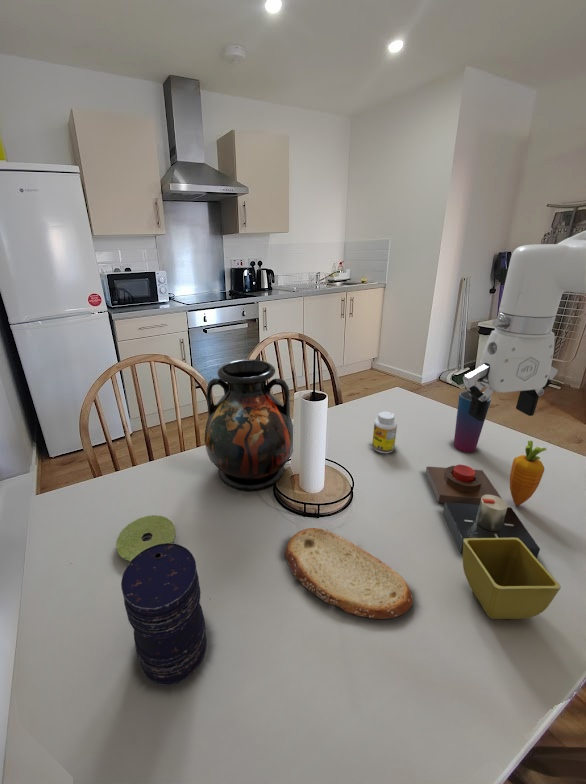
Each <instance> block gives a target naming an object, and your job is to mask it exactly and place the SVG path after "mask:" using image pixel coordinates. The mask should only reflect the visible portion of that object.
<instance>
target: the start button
mask: <svg viewBox="0 0 586 784" xmlns="http://www.w3.org/2000/svg"><path fill="white" fill-rule="evenodd" d="M454 466H455V467H454V470H453V476H454V477H455V478H456V479H458V480H460V481H463V482H472V481H474V477H475V471H474V470H475V469H473V468H472V467H470V466H468V465H465V464H456V465H454Z"/></svg>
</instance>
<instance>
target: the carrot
mask: <svg viewBox="0 0 586 784" xmlns="http://www.w3.org/2000/svg"><path fill="white" fill-rule="evenodd" d="M533 446H534V443H533V440H527V445H525V448H524V449H525V454H521V455H518V456H515V457H514V458H513V461H512V465H511V470H510V474H509V490H510V496H511V498H512V502H513V504H514V505H515V506H521V505H522V504H525V502H527V501H528V500H529V499H530V498H532V496H533V495H534V493H535V492H536V490H537V489H538V487H539V485H540V483H541V480H542V478H543V475H544V473H545V466H544V464H543V462H542V460H540V459H541V456H537V455H539V454H540V453H542V452H544V451H547V448H546V447H540V446H535V447H533Z"/></svg>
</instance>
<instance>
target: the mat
mask: <svg viewBox="0 0 586 784" xmlns="http://www.w3.org/2000/svg"><path fill="white" fill-rule="evenodd" d="M176 534H177V533H176V526H175V524H174V522H173V521H172V520H171V519H169V518H168V517H166V516H163V515H153V514H152V515H146V516H143V517H140V518H136V519H135V520H133V521H132V522H130V523H129V524H127V525H126V526H125V527H124V528H123V529H122V530H121V531H120V532H119V534H118V536H117V539H116V542H115V543H116V545H115V548H116V551H117V553H118V555H119V556H120V557H121V558H122V559H123V560H126V561H129V562H131V560H132V559H133V558H134V557H135V556H136V555H138V554H139V553H140V552H142V551H143V550H145V549H147V548H149V547H151V546H154V545H158V544H163V543H173V542H174V540H175V538H176Z"/></svg>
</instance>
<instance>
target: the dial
mask: <svg viewBox="0 0 586 784" xmlns="http://www.w3.org/2000/svg"><path fill="white" fill-rule="evenodd" d="M501 498H502V497H501ZM501 498H499V497H497V496H494V495H483V496H482V497H481V501H480V505H479V509H478V513H477V517H476V521H477V523H478V524H479V525H480V526H481V527H483V528H484V529H487V530H489V531H499V530H501V528H502V525H503V521H504V518H505V514H506V511H507V507H509V506H508V503H507V502H506V500H504V499H503V498H502V499H501Z"/></svg>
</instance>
